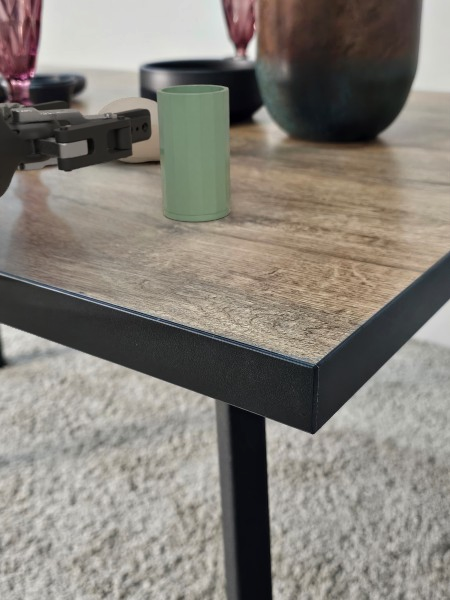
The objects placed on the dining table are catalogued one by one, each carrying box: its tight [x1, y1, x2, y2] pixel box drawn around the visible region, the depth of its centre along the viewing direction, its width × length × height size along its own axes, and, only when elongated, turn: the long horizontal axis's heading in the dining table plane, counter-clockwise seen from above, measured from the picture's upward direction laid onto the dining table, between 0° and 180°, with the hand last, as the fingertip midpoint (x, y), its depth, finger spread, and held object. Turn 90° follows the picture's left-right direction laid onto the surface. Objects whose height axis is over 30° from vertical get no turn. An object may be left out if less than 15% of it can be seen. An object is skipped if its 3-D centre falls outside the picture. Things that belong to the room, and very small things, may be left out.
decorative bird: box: [97, 96, 160, 164], centre depth 87 cm, size 9×16×8 cm, turn 97°
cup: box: [156, 84, 232, 223], centre depth 66 cm, size 6×6×11 cm
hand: (105, 118), depth 56 cm, fingers open, 8 cm apart
